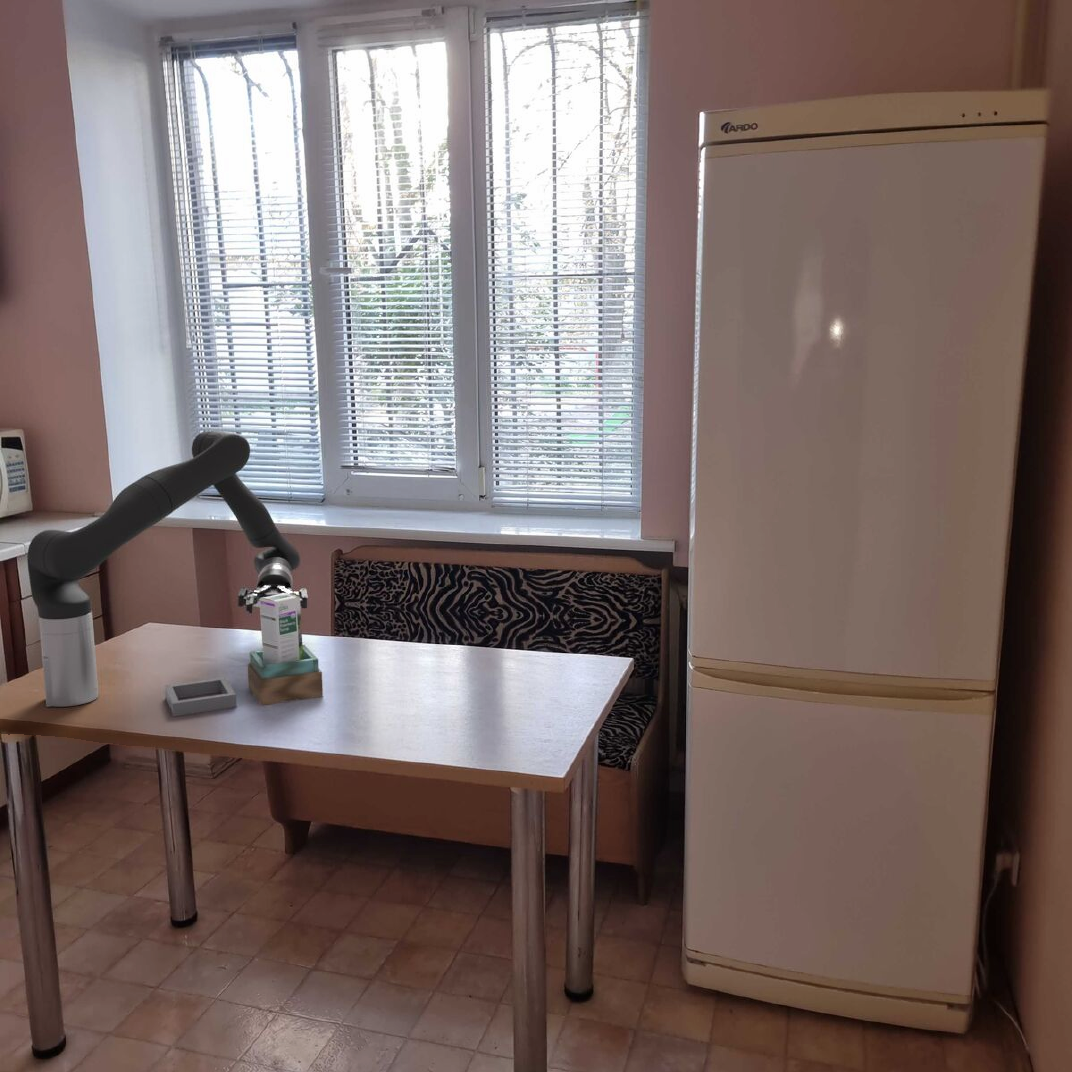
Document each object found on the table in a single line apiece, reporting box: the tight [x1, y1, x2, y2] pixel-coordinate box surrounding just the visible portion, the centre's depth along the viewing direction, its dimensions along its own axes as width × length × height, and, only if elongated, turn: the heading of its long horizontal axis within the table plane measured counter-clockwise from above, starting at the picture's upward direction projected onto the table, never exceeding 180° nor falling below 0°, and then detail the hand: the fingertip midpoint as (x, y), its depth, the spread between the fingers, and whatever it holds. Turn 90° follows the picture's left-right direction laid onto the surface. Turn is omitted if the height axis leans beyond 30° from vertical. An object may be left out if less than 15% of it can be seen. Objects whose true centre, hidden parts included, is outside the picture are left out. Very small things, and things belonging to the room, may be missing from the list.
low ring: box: [164, 677, 238, 717], centre depth 186 cm, size 11×11×2 cm
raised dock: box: [247, 644, 324, 706], centre depth 192 cm, size 12×12×8 cm
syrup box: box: [259, 593, 303, 665], centre depth 191 cm, size 6×6×14 cm
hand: (272, 609), depth 200 cm, fingers open, 8 cm apart
